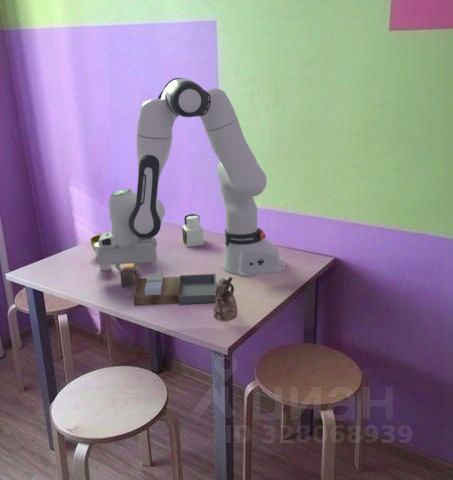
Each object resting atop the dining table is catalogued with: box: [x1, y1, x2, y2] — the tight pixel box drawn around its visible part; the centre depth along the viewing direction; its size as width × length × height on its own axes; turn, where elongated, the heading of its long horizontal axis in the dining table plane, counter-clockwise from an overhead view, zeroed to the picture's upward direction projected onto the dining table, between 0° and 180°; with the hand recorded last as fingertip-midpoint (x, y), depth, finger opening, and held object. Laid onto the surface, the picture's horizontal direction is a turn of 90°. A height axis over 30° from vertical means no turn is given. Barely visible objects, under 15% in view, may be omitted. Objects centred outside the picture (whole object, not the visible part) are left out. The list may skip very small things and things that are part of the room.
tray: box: [178, 273, 217, 306], centre depth 169 cm, size 12×16×3 cm
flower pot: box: [90, 233, 103, 253], centre depth 202 cm, size 10×10×7 cm
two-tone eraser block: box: [119, 263, 137, 288], centre depth 181 cm, size 4×14×5 cm, turn 3°
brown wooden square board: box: [132, 276, 181, 307], centre depth 169 cm, size 14×14×3 cm
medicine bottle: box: [181, 213, 205, 248], centre depth 211 cm, size 7×7×12 cm
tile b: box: [145, 282, 162, 295], centre depth 165 cm, size 5×5×2 cm
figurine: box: [213, 276, 238, 322], centre depth 153 cm, size 7×7×12 cm
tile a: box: [146, 272, 164, 285], centre depth 171 cm, size 5×5×2 cm
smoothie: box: [94, 231, 112, 272], centre depth 189 cm, size 6×6×14 cm
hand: (129, 274), depth 181 cm, fingers closed on two-tone eraser block, 3 cm apart
